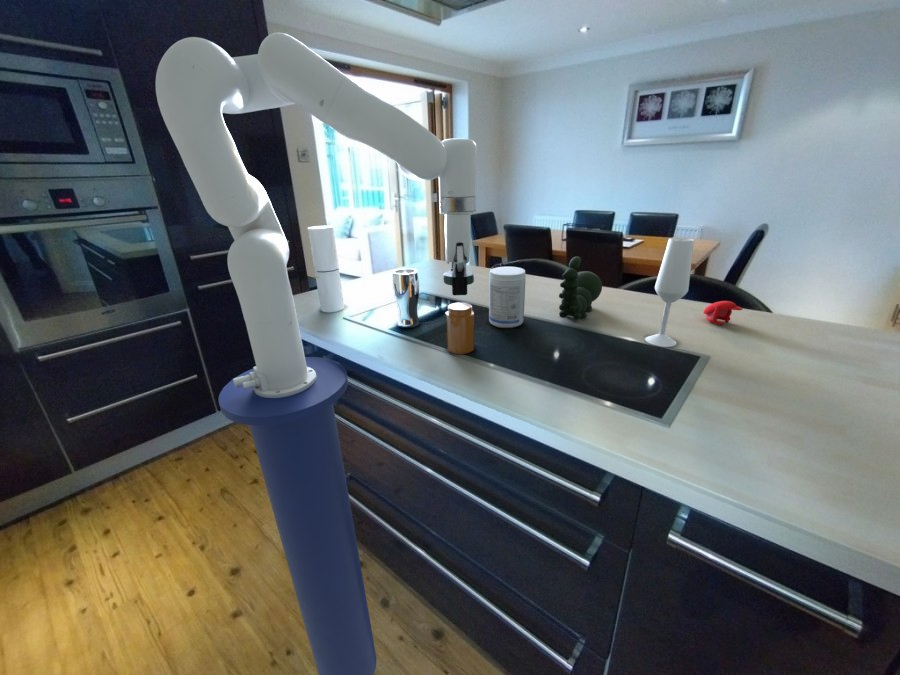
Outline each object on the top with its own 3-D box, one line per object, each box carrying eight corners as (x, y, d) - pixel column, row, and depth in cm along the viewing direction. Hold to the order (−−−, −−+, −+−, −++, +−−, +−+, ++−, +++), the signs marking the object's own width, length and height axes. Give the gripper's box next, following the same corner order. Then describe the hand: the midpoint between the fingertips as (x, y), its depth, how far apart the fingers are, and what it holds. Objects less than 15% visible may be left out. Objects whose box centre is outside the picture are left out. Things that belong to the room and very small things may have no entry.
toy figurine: (582, 334, 102) (605, 300, 120) (589, 264, 93) (612, 239, 112) (547, 328, 107) (574, 296, 125) (551, 261, 98) (579, 237, 116)
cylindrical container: (335, 313, 119) (322, 229, 109) (316, 311, 121) (302, 228, 111) (348, 306, 125) (337, 225, 115) (330, 304, 127) (318, 225, 117)
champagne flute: (656, 348, 90) (677, 242, 80) (639, 336, 96) (657, 237, 86) (683, 345, 90) (707, 240, 81) (664, 334, 97) (684, 236, 87)
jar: (459, 356, 88) (458, 312, 84) (441, 348, 93) (440, 306, 89) (479, 348, 92) (479, 306, 88) (461, 340, 97) (461, 300, 92)
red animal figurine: (701, 324, 102) (706, 302, 100) (701, 317, 107) (706, 296, 105) (738, 329, 98) (744, 306, 96) (736, 321, 103) (742, 300, 101)
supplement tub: (499, 314, 113) (500, 264, 108) (529, 320, 108) (532, 268, 102) (482, 325, 106) (482, 272, 100) (513, 331, 101) (515, 276, 95)
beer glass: (400, 330, 104) (396, 275, 98) (393, 322, 110) (388, 270, 104) (424, 326, 107) (421, 272, 101) (416, 318, 112) (413, 267, 107)
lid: (478, 283, 84) (478, 275, 84) (450, 287, 82) (450, 278, 81) (466, 277, 90) (466, 268, 89) (439, 280, 88) (439, 271, 87)
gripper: (439, 203, 88) (441, 280, 95) (440, 210, 72) (442, 302, 79) (472, 202, 88) (472, 279, 95) (480, 209, 72) (479, 301, 79)
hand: (458, 289), depth 87 cm, fingers closed on lid, 6 cm apart
